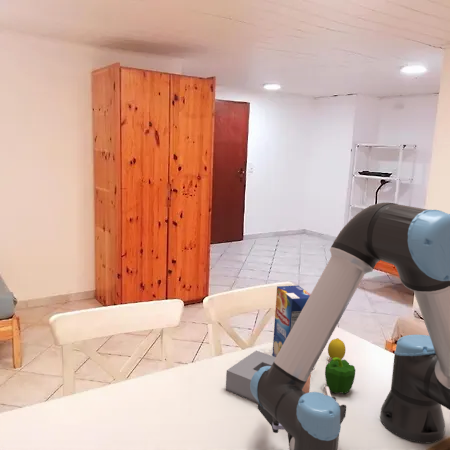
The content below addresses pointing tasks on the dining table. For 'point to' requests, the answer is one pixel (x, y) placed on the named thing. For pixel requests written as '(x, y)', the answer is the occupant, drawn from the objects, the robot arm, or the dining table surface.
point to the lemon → (336, 349)
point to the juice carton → (287, 312)
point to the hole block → (246, 374)
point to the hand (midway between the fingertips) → (298, 389)
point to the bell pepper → (339, 375)
